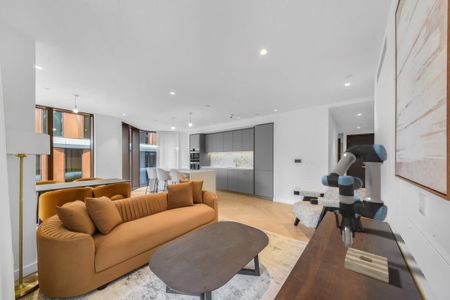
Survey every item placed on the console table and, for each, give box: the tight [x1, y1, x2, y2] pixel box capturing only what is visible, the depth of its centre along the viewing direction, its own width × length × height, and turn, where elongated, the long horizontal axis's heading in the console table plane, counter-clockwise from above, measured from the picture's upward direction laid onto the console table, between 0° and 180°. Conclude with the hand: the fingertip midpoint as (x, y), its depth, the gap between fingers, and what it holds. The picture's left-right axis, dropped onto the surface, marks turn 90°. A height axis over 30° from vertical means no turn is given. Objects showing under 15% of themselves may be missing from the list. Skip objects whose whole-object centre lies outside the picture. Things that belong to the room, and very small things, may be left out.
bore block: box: [344, 247, 390, 284], centre depth 88 cm, size 16×16×4 cm
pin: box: [343, 226, 352, 249], centre depth 103 cm, size 3×3×11 cm
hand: (347, 241), depth 103 cm, fingers closed on pin, 3 cm apart
